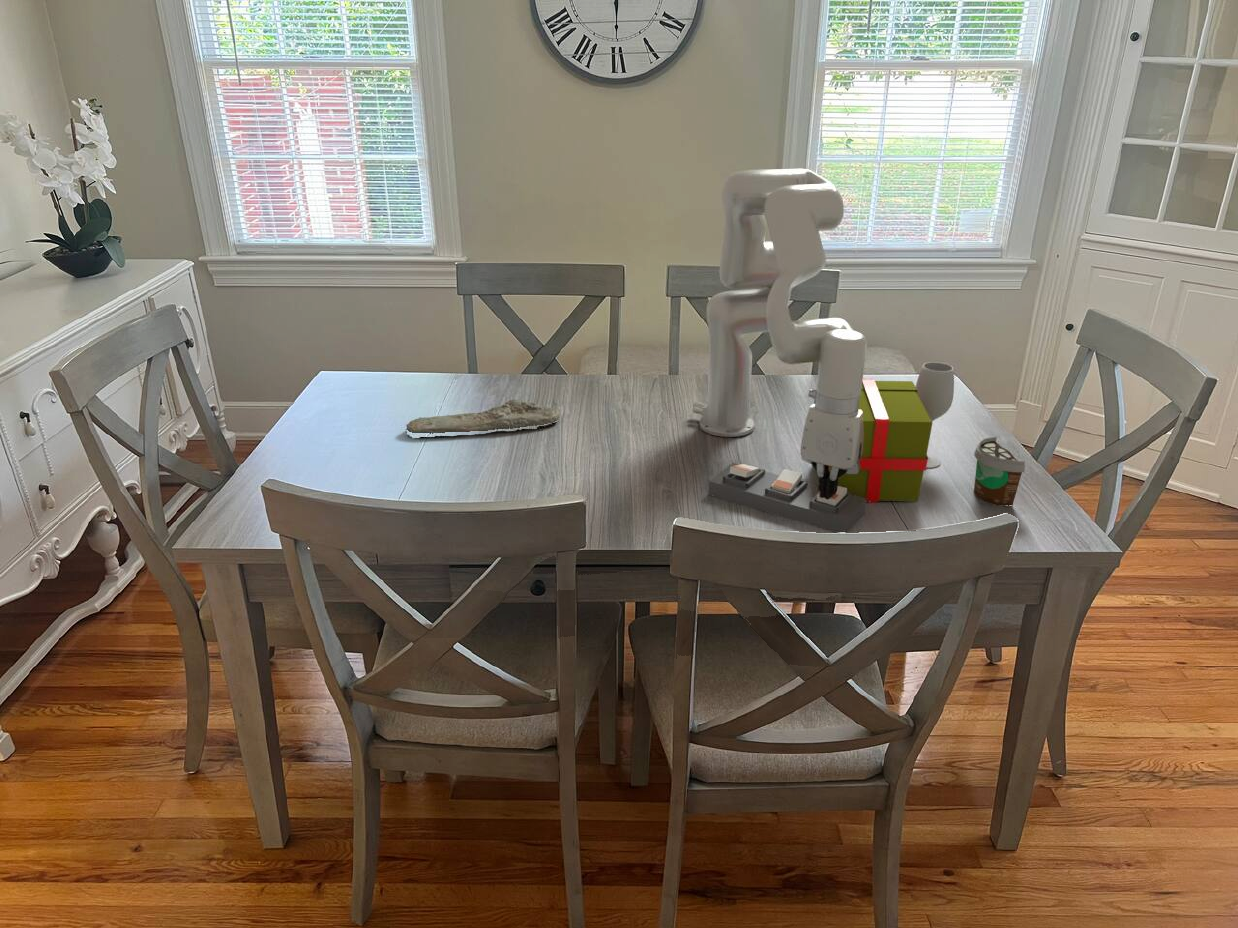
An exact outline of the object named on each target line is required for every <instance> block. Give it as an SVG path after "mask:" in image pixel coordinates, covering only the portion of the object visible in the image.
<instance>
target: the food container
mask: <svg viewBox="0 0 1238 928" xmlns="http://www.w3.org/2000/svg"><path fill="white" fill-rule="evenodd" d="M997 438H998V437H997V436H991V437H987V438H984V439H981V440H980V441H979V443H978V444H977V445H976V448H975V450H974V452H973V455H974V458H975V459H976V467H975V476H974V486H973V487H974V488H973V494H974V496H975V497H977V499H979V500H981V501H983V502H984V503H987V502H988V503H987V504H990V503H991V504H990V505H993V504H995V506H998V505H1004V506H1003V507H1006V506H1005V505H1008V506H1009V505H1012V506H1014V502H1015V498H1016V494H1017V491H1018V488H1019V484H1020V481H1021V477H1022V474H1023V473H1025V467H1026V464H1025V463H1026V461H1025V460H1017V459H1016V458H1015V456H1014V455H1013V454H1012V453H1011V452H1010V450H1008V449H1006V448H1004V447H1002V446H1001V445H1000V444H999V443H998V442H997Z"/></svg>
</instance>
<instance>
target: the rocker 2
mask: <svg viewBox="0 0 1238 928" xmlns="http://www.w3.org/2000/svg"><path fill="white" fill-rule="evenodd" d="M779 475H780V476H779V477H778V478H777V480H776V481H775V482H774V484H773V485H772V489H773V490H776V491H780V492H784V493H787V494H791V493H792V492H793V490H794V489H795V488H796V486H797V485H798V483H799V482H800V480H803V473H802V472H797V471H794V470H790V469H787V468H784V469H783V470H782V471H781V473H780V474H779Z"/></svg>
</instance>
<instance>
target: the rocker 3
mask: <svg viewBox="0 0 1238 928" xmlns="http://www.w3.org/2000/svg"><path fill="white" fill-rule="evenodd" d="M846 494H847V488H844V487H841V486H838V487H837V492H836V494H835V495H833V496H832V497H831V498H829V499H825V498H820V493H818V494H817V500H816V501H819V502H823V503H827V504H830V505H834V506H835V505H836V504H837V503H838V502H839V501H840V500H841V499H842V498H843V497H844V496H845V495H846Z"/></svg>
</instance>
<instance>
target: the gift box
mask: <svg viewBox="0 0 1238 928" xmlns="http://www.w3.org/2000/svg"><path fill="white" fill-rule="evenodd" d="M859 410H861V411H862V415H863V426H864V438H863V452H862V458H861V460H860V468H861V470H860V471H859V472H858V473H857V474H848V473H845V474H844V475H842V476H840V477H839V478H838V486H841V487H844V488H847V492H849V493H853V495H855V496H858V497H862V498H866V499H867V500H866V503H879V501H880V502H881V501H884V502H886V501H887V502H890V501H891V502H894V501H895V502H919V497H920V493H921V487H922V482H923V476H924V471H926V470H927V468H926V465H927V461H928V457H927V454H928V448H929V443H930V439H931V433H932V432H931V431H932V428H933V422H932V421H931V419H930V417H929V415H928V413H927V411H926V410H925V408H924V406H923V404H922V402H921V400H920V399H919V397H918V395H917V389H916V385H915V383H914V381H911V380H910V381H909V380H900V381H899V380H875V378H863V381H862V389H861V397H860V405H859ZM831 470H832V467H831V466H829V471H830V472H831Z"/></svg>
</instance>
